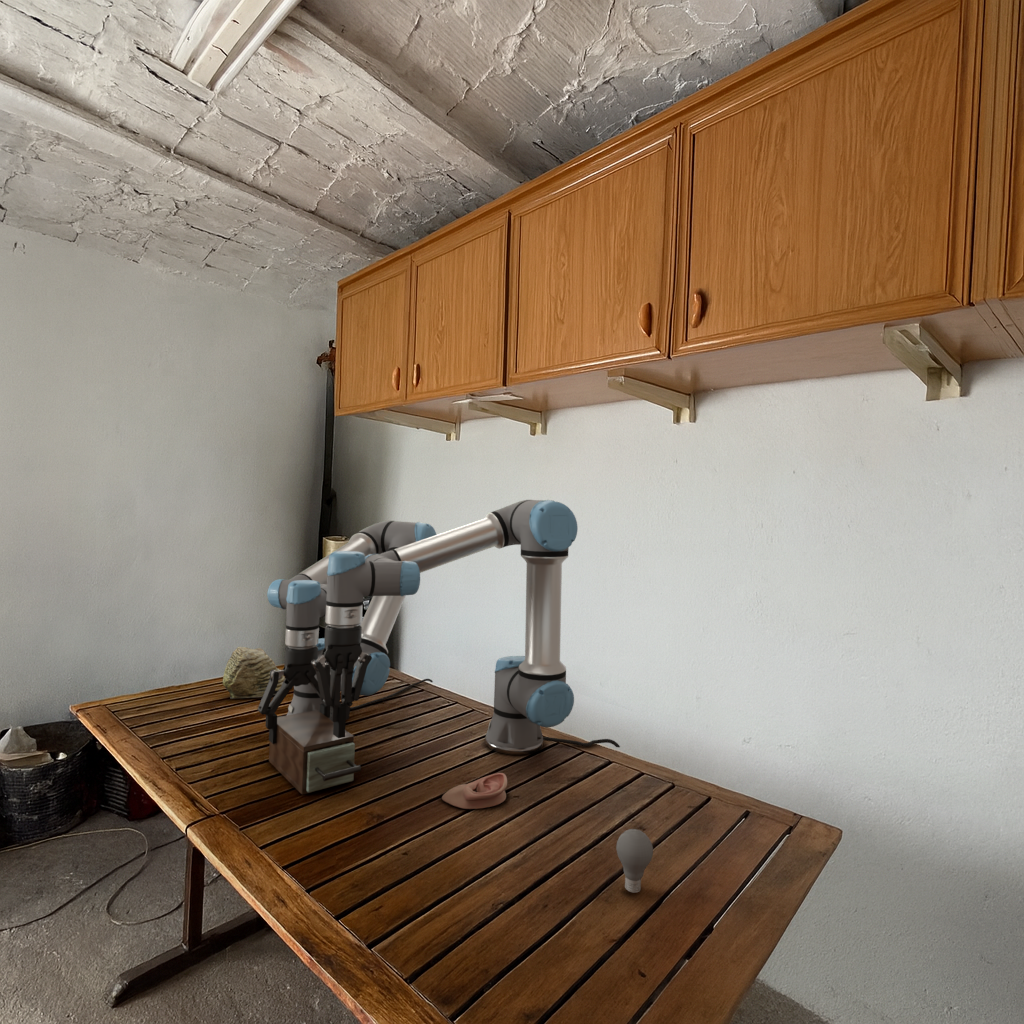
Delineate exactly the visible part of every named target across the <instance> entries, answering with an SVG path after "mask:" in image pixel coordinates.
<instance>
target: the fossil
mask: <svg viewBox="0 0 1024 1024" xmlns="http://www.w3.org/2000/svg"><path fill="white" fill-rule="evenodd" d="M273 669H274V670H276V671H277V670H280V669H279V668H278V667H277V665H276V663H275V662H274V660H273V659H272V658H271V657H270V656H269V655H268V654H267V653H266V652H265V650H264V649H263V648H260V647H258V648H251V647H247V646H246V647H245V646H238V647H237V648H236V649H235V650H233V651H232V653H231V656H230V657H229V659H228V660H227V663H226V666H225V668H224V671H223V675H222V676H223V677H222V685H223V687H224V688H225V690H226V691H228V693H229V698H230V699H250V698H262V697H263V695H264V692H265V690H266V687H267V685H268V682H269V680H270V671H271V670H273ZM284 680H285V677H284V675H282V676H281V679H280V680H278V685H277V687H276V690H275V692H274V694H273V696H275V695H276V693H277V692H278V690H279V689H280V688H281V686H282V683H283V681H284Z"/></svg>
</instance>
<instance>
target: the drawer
mask: <svg viewBox="0 0 1024 1024" xmlns="http://www.w3.org/2000/svg"><path fill="white" fill-rule="evenodd" d="M355 752H356V743H355V742H354V743H353V742H352V743H347V744H345V743H341V744H337V745H332V746H328V747H323V748H319V749H314V750H310V751H308V761H307V787H306V791H307V792H308V793H307V794H310V793H309V792H311V793H314V792H317V791H316V790H318V791H321V790H320V789H322V790H325V789H329V788H332V787H331V786H333V787H336V786H335V785H337V786H339V784H340V785H343V784H342V783H344V784H347V783H346V782H348V783H351V782H353V781H354V776H355V774H357V773H360V772H361V771H362V767H361V765H360V764H359V765H357V764H355V756H356V755H355V754H356V753H355ZM350 781H351V782H350ZM328 787H329V788H328ZM324 788H325V789H324ZM313 791H314V792H313Z"/></svg>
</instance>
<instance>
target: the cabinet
mask: <svg viewBox="0 0 1024 1024" xmlns="http://www.w3.org/2000/svg"><path fill="white" fill-rule="evenodd" d="M286 715H287V714H286ZM286 715H282V716H277V734H276V743H275V744H272V743H271V742H270V741H269V744H268V745H269V747H268V748H269V749H268V762H269V763H270V764H271V765H272V766H273V767H274V768H275V770H277V772H278V773H280V774H281V776H283V777H284V778H285V779H286V780H287V782H288V783H290V785H292V786H293V788H295V789H296V791H298V793H300V794H301V795H302V796H304V795H307V794H311V793H314V792H318V791H321V790H326V788H324V789H320V790H316V791H313V792H309V793H308V792H307V791H306V787H307V761H308V751H310V750H314V749H319V748H323V747H328V746H332V745H337V744H341V743H345V744H347V743H352V742H353V743H354V744H355V742H354V741H355V735H353V734H351V733H350V732H349V731H347V730H346V729H345V737H342V738H337V737H336V736H335V735H333V722H332V721H331V720H330V719H329V718H328V717H326V716H325V715H323V714H322V713H321V712H319V711H318V710H314V711H308V712H303V713H297V714H292V715H287V716H286ZM351 782H352V781H350V782H346V783H342V784H339V785H340V786H341V785H344V784H347V783H351ZM339 785H335V786H331V787H328V788H327V789H329V788H332V787H336V786H339Z"/></svg>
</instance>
